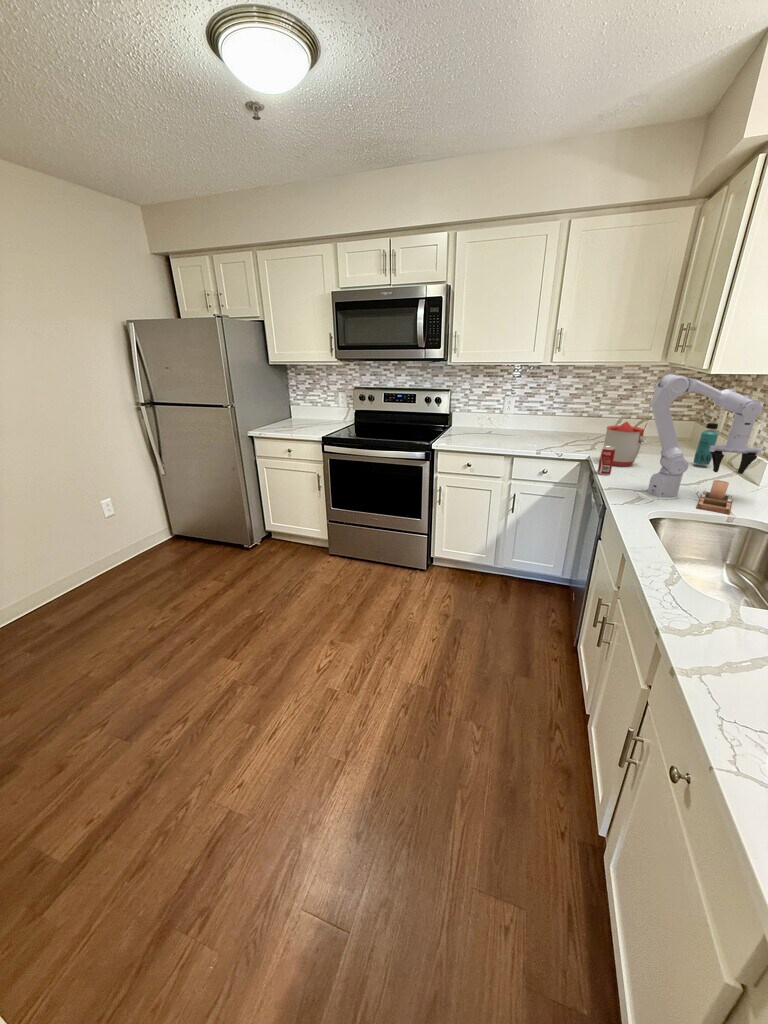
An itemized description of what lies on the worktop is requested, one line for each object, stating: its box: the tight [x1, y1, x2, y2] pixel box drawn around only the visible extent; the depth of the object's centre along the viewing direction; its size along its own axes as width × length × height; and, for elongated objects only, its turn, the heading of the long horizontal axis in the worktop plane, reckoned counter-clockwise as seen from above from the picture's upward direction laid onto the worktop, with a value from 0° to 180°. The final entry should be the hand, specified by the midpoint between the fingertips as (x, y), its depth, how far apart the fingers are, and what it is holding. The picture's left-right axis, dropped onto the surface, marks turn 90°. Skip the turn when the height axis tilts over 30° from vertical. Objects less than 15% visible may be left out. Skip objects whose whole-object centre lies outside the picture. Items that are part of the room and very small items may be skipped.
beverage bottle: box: [693, 422, 719, 466], centre depth 193 cm, size 6×7×20 cm
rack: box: [695, 490, 733, 516], centre depth 148 cm, size 18×9×2 cm, turn 140°
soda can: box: [597, 445, 615, 476], centre depth 184 cm, size 5×5×12 cm
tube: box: [709, 479, 730, 500], centre depth 150 cm, size 4×4×7 cm
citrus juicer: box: [603, 421, 647, 467], centre depth 198 cm, size 16×17×20 cm
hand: (727, 472), depth 151 cm, fingers open, 7 cm apart
